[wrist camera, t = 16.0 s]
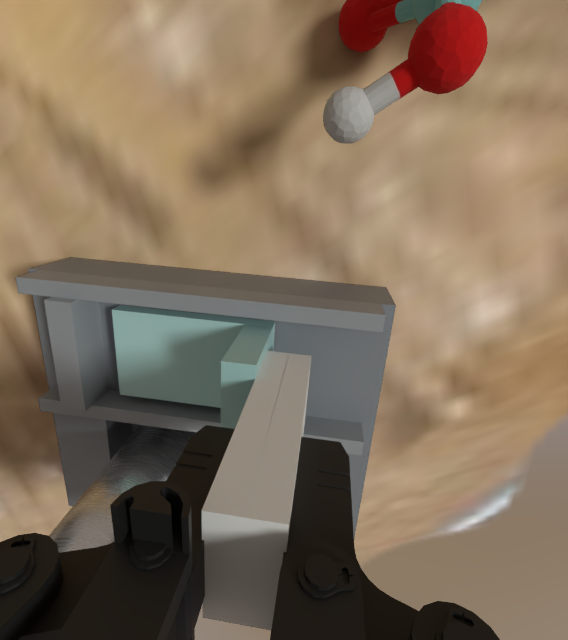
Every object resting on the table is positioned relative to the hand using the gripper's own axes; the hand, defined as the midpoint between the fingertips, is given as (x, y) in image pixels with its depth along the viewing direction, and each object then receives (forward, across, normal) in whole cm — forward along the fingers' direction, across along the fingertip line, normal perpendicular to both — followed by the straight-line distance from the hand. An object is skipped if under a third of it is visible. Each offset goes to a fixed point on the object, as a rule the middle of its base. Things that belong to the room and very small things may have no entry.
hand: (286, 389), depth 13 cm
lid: (+2, -4, 0) cm, 4 cm away
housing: (+4, -4, -3) cm, 6 cm away
